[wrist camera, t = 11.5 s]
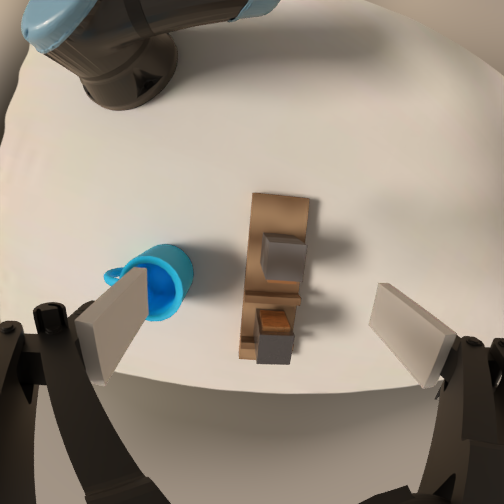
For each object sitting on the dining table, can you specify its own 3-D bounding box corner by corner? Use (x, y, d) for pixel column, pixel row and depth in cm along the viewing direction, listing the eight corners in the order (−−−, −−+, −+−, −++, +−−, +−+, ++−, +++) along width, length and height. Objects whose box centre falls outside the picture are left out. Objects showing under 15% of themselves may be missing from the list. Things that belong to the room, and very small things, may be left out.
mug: (194, 245, 39) (183, 258, 31) (193, 301, 41) (183, 324, 33) (116, 240, 38) (90, 251, 30) (118, 293, 40) (95, 313, 32)
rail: (252, 193, 38) (257, 191, 28) (306, 198, 39) (327, 199, 29) (238, 352, 43) (239, 391, 33) (285, 354, 43) (296, 392, 33)
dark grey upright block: (256, 304, 39) (260, 329, 31) (284, 305, 39) (295, 331, 31) (253, 333, 40) (256, 363, 32) (280, 334, 40) (289, 364, 32)
